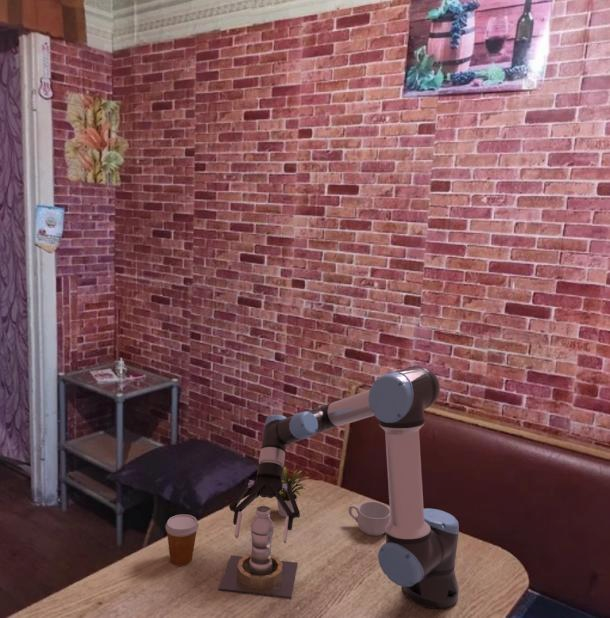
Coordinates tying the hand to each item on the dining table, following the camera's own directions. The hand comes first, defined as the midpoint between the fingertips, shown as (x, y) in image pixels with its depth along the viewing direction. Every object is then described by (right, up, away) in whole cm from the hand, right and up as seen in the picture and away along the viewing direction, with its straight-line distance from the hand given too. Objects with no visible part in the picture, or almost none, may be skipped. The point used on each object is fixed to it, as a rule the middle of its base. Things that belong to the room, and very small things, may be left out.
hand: (260, 539), depth 165 cm
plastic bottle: (0, -12, +3) cm, 12 cm away
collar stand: (0, -12, +3) cm, 12 cm away
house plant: (+6, -7, +39) cm, 40 cm away
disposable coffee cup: (-24, -10, +9) cm, 28 cm away
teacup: (+33, -10, +32) cm, 47 cm away
